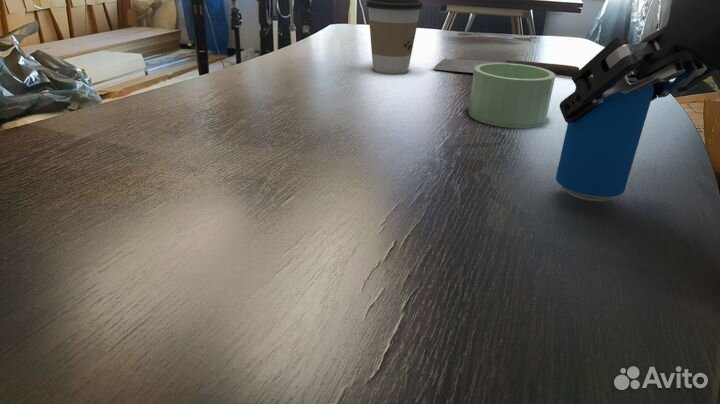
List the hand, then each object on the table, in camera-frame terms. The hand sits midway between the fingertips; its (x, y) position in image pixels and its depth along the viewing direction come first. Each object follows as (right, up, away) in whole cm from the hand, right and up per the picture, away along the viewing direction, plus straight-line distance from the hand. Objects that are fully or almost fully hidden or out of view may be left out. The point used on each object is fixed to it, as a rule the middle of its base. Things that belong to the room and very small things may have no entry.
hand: (593, 110), depth 48 cm
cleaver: (+8, +18, +57) cm, 61 cm away
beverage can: (0, -8, +2) cm, 8 cm away
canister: (0, +4, +29) cm, 29 cm away
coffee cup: (-16, +18, +56) cm, 61 cm away
